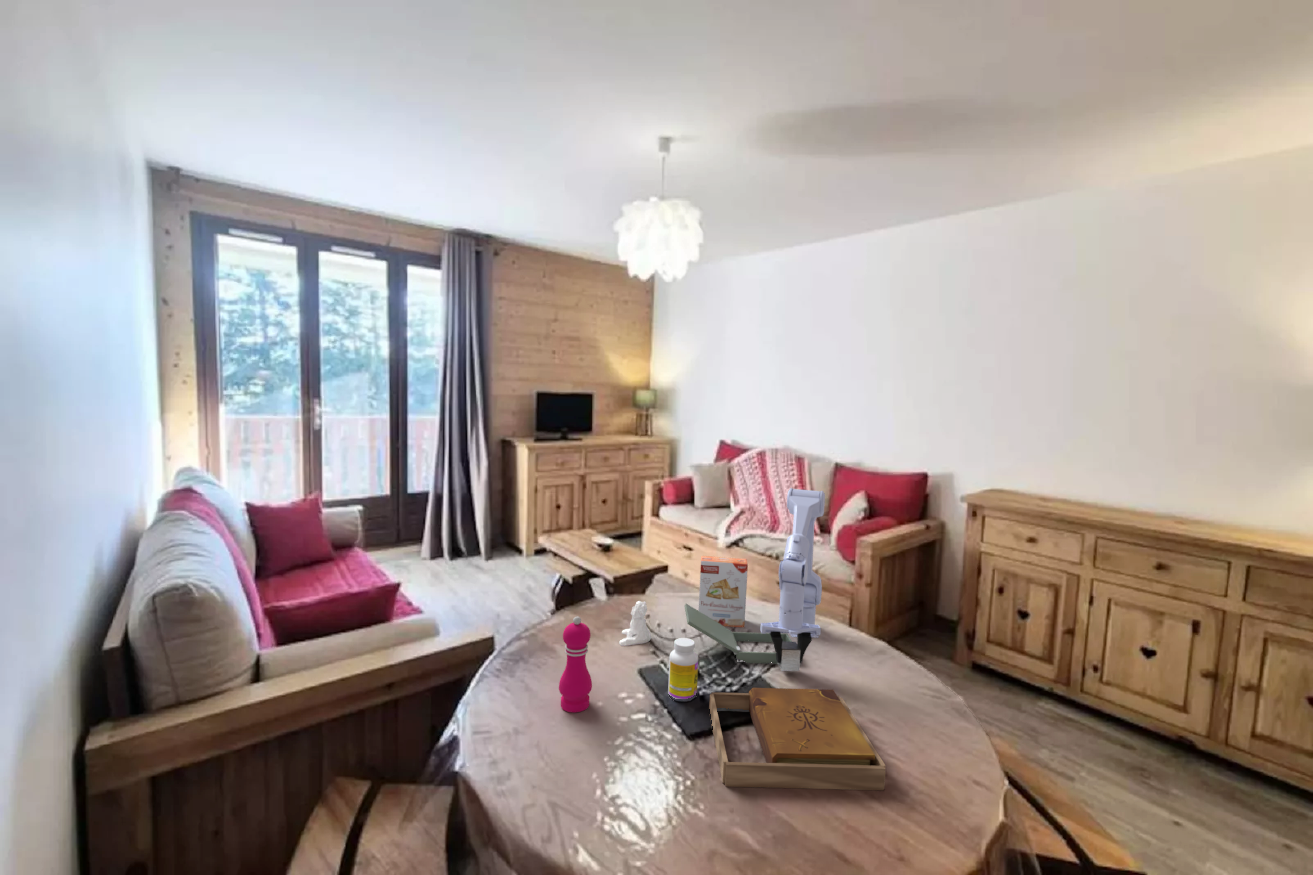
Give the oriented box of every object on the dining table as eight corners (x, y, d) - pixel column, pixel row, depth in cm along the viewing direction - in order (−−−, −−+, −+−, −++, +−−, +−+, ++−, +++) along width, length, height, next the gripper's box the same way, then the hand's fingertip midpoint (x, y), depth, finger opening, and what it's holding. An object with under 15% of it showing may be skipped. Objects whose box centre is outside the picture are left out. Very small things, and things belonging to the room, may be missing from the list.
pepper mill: (585, 716, 122) (587, 624, 121) (553, 711, 123) (555, 621, 122) (595, 699, 129) (598, 612, 128) (565, 694, 130) (567, 609, 129)
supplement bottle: (698, 704, 128) (700, 648, 127) (668, 703, 128) (670, 647, 127) (695, 689, 135) (697, 636, 134) (667, 688, 135) (669, 635, 134)
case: (683, 642, 160) (684, 603, 160) (786, 645, 161) (788, 606, 160) (685, 664, 147) (687, 621, 147) (798, 667, 148) (800, 624, 147)
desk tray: (708, 709, 126) (709, 692, 126) (839, 713, 126) (840, 695, 126) (723, 786, 101) (724, 764, 101) (886, 790, 102) (887, 768, 101)
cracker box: (697, 629, 170) (700, 560, 169) (698, 621, 176) (700, 554, 175) (744, 633, 169) (748, 563, 167) (744, 625, 175) (747, 557, 173)
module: (777, 662, 145) (778, 641, 145) (794, 663, 145) (795, 641, 145) (781, 670, 141) (782, 648, 140) (799, 671, 141) (800, 649, 140)
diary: (747, 712, 126) (749, 687, 126) (831, 714, 127) (833, 689, 127) (771, 782, 104) (772, 752, 103) (873, 784, 104) (875, 753, 104)
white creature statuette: (621, 635, 165) (623, 594, 164) (651, 636, 164) (653, 595, 163) (618, 649, 155) (619, 606, 154) (650, 650, 155) (651, 607, 154)
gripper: (765, 613, 138) (762, 668, 138) (825, 614, 138) (822, 669, 139) (759, 602, 145) (757, 655, 145) (816, 604, 145) (814, 656, 146)
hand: (788, 661), depth 143 cm, fingers closed on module, 4 cm apart
